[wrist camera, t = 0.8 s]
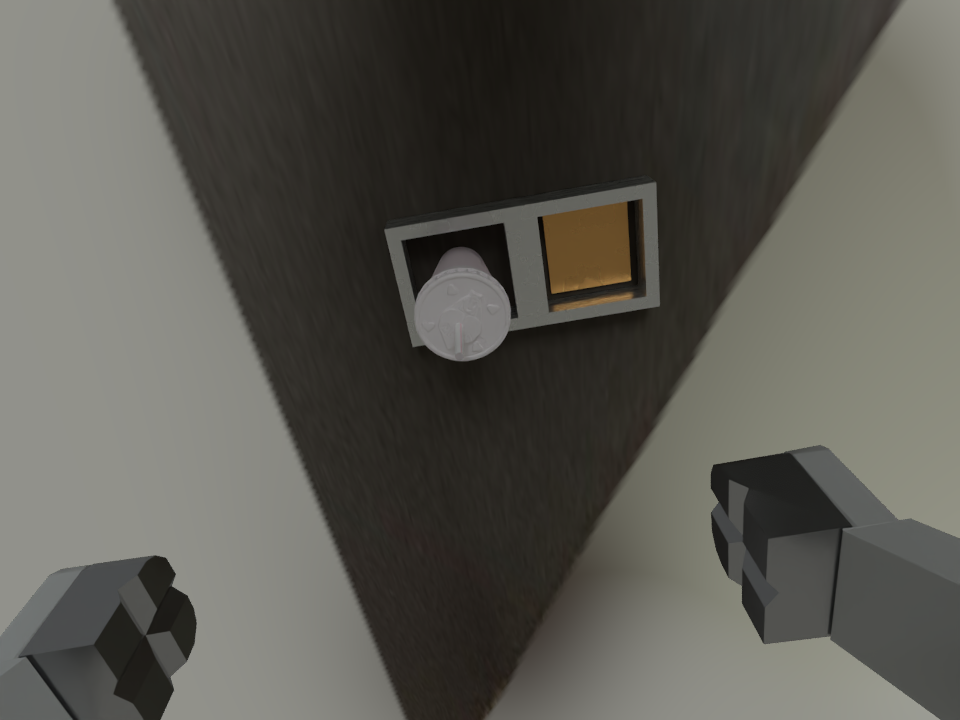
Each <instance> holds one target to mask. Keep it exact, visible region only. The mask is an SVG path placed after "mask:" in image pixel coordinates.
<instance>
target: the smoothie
mask: <svg viewBox="0 0 960 720" xmlns="http://www.w3.org/2000/svg"><path fill="white" fill-rule="evenodd" d="M414 320H415V326H416V330H417V333H418V335H419V337H420V339H421V340H422V342H423V343H424V344H425V345H426V346H427V347H428V348H429V349H430V350H431V351H432V352H434V353H435V354H437V355H439V356H441V357H443V358H446V359H449V360H454V361H470V360H475V359H479V358H482V357H484V356H486V355H488V354H489V353H491V352H492V351H494V350H495V349H496V348H497V347H498V346H499V345H500V344H501V343H502V342H503V340H504V339H505V337H506V335H507V333H508V330H509V327H510V321H511V308H510V302H509V298H508V296H507V294H506V292H505V290H504V288H503V287H502V286H501V285H500V284H499V282H498V281H497V280H496V279H495V278H493V277H492V276H491V274H490V272H489V271H488V269H487V267H486V265H485V263H484V262H483V260H482V258H481V256H480V255H479V254H478V253H477V252H476V251H474V250H472V249H470V248H467V247H455V248H452V249H450V250H448V251H447V252H446V253H445V254H444V255H443V256H442V257H441V259H440V261H439V263H438V265H437V267H436V269H435V271H434V273H433V275H432V277H431V279H430V280H429V281H427V282H426V283H425V284H424V286H423V287H422V289H421V290H420V292H419V293H418V296H417V299H416V302H415V309H414Z"/></svg>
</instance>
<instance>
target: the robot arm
mask: <svg viewBox="0 0 960 720" xmlns="http://www.w3.org/2000/svg"><path fill="white" fill-rule="evenodd" d="M711 489H712V491H713V492H714V494H715V496H716V498H717V499H718V501H719V503H718V504H717V506H716V507H715V508H714V509H713V511H712V512H711V518H712V533H713V537H714V542H715V547H716V551H717V553H718V556H719V559H720V561H721V564H722V566H723V568H724V570H725V572H726V574H727V576H728V578H730V579H731V580H733V581H735V582H736V583H738V584H740V585H741V586H742V604H743V606H744V608H745V610H746V612H747V614H748V615H749V617H750V619H751V621H752V623H753V625H754V627H755V628H756V630H757V632H758V634H759V636H760V638H761V640H762V642H763V643H764V644H770V643H778V642H786V641H794V640H802V639H811V638H819V637H827V636H831V640H832V641H833V642H835V643H836V644H837V645H839V646H840V647H842V648H843V649H844V650H846V651H847V652H848V653H850V654H851V655H853V656H854V657H855V658H857V659H858V660H859V661H861V662H862V663H863V664H865V665H866V666H868V667H869V668H870V669H872V670H873V671H874V672H876V673H877V674H879V675H880V676H881V677H883V678H884V679H885V680H887V681H888V682H890V683H891V684H892V685H894V686H895V687H897V688H898V689H899V690H901V691H902V692H903V693H905V694H906V695H907V696H909V697H910V698H912V699H913V700H914V701H916V702H917V703H918V704H920V705H921V706H923V707H924V708H925V709H927V710H928V711H929V712H931V713H932V714H934V715H935V716H936V717H938V718H939V719H940V720H960V538H957V537H955V536H952V535H950V534H947V533H945V532H942V531H940V530H937V529H935V528H932V527H930V526H927V525H925V524H922V523H920V522H918V521H915V520H912V519H905V520H898V519H897V518H895V516H894V515H893V514H892V513H891V512H890V511H889V510H888V509H887V508H886V507H885V506H884V505H883V504H882V503H881V502H880V501H879V500H878V499H877V498H876V497H875V496H874V495H873V494H872V493H871V492H870V491H869V490H868V488H867V487H866V486H865V485H864V484H863V483H862V482H861V481H859V479H858V478H856V476H855V475H854V474H853V473H852V472H851V471H850V470H849V469H848V468H847V467H846V466H845V465H844V464H843V463H842V462H841V461H840V460H839V459H838V458H837V457H836V456H835V455H834V454H833V453H832V452H831V451H830V450H829V449H828V448H826V447H824V446H821V445H818V446H813V447H808V448H803V449H797V450H792V451H786V452H784V453H781V454H775V455H769V456H763V457H757V458H751V459H746V460H739V461H734V462H727V463H722V464H716V465H713V468H712V471H711ZM175 575H176V574H175V572H174V570H173V569H172V567H171V565H170V564H169V562H168V560H167V559H166V558H164V557H160V556H148V557H140V558H133V559H126V560H119V561H112V562H104V563H97V564H93V565H87V566H79V567H73V568H66V569H61V570H59V571H57V572H55V573H53V574H51V575H49V576H48V578H47V579H46V580H45V581H44V582H43V584H42V585H41V586H40V587H39V589H38V590H37V591H36V592H35V594H34V595H33V596H32V597H31V599H30V600H29V601H28V603H27V604H26V605H25V606H24V607H23V609H22V610H21V611H20V612H19V614H18V615H17V616H16V617H15V619H14V620H13V621H12V622H11V624H10V625H9V626H8V627H7V629H6V630H5V631H4V632H3V634H2V635H1V636H0V720H160V719H161V717H162V715H163V713H164V711H165V708H166V706H167V704H168V702H169V700H170V697H171V695H172V693H173V691H174V688H173V685H172V681H171V678H170V677H171V676H172V675H173V674H174V673H175V672H176V671H177V670H178V669H179V668H180V667H181V666H182V665H184V664H185V663H186V662H187V660H188V658H189V655H190V653H191V650H192V648H193V646H194V643H195V633H196V624H197V623H196V617H195V612H194V608H193V606H192V604H191V602H190V600H189V598H188V596H187V595H185V594H184V593H182V592H180V591H179V590H177V589H175V588H174V587H172V584H173V581H174V578H175Z"/></svg>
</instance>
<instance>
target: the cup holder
mask: <svg viewBox="0 0 960 720" xmlns="http://www.w3.org/2000/svg"><path fill="white" fill-rule="evenodd" d="M632 200H634V211H635V232H636V253H637V275H638V285H635V286H629V287H623V288H617V289H611V290H605V291H599V292H593V293H587V294H581V295H575V296H569V297H563V298H557V299H551V300H547V293H546V285H545V277H544V268H543V260H542V252H541V244H540V236H539V227H538V219H537V217H540V216H542V219H543V227H544V236H545V244H546V252H547V261H548V269H549V278H550V286H551V293H552V294H554V293H560V292H566V291H572V290H578V289H584V288H590V287H596V286H602V285H608V284H614V283H620V282H626V281H631V268H630V249H629V230H628V211H627V201H632ZM499 223H503V225H504V231H505V238H506V245H507V251H508V258H509V265H510V272H511V278H512V285H513V292H514V298H515V306H510V308H511V321H510V327H509V330H508V331H513V330H519V329H525V328H531V327H537V326H543V325H549V324H555V323H561V322H567V321H573V320H579V319H585V318H592V317H598V316H604V315H610V314H616V313H622V312H628V311H634V310H640V309H646V308H652V307H658V306H660V294H659V260H658V226H657V193H656V182H655V181H654V180H652V179H651V178H650V177H648V176H647V175H644V176H639V177H633V178H627V179H622V180H616V181H610V182H604V183H599V184H593V185H587V186H582V187H576V188H570V189H564V190H559V191H553V192H547V193H542V194H536V195H530V196H524V197H519V198H513V199H507V200H501V201H496V202H490V203H484V204H479V205H473V206H467V207H461V208H456V209H450V210H444V211H439V212H433V213H427V214H421V215H416V216H410V217H404V218H399V219H393V220H388V221H387V223H386V226H385V229H384V231H385V235H386V239H387V243H388V247H389V251H390V256H391V260H392V264H393V268H394V272H395V276H396V280H397V284H398V288H399V293H400V297H401V301H402V305H403V309H404V313H405V317H406V321H407V326H408V330H409V334H410V338H411V342H412V346H413V347H416V346H422V345H425V344H424V343H423V342H422V340H421V339H420V337H419V335H418V333H417V330H416V326H415V320H414V309H415V302H416V299H417V296H418V293H417V288H416V284H415V279H414V275H413V271H412V266H411V262H410V257H409V253H408V249H407V244H406V240H407V239H413V238H418V237H424V236H430V235H436V234H442V233H447V232H453V231H459V230H465V229H470V228H476V227H482V226H488V225H493V224H499Z"/></svg>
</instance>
